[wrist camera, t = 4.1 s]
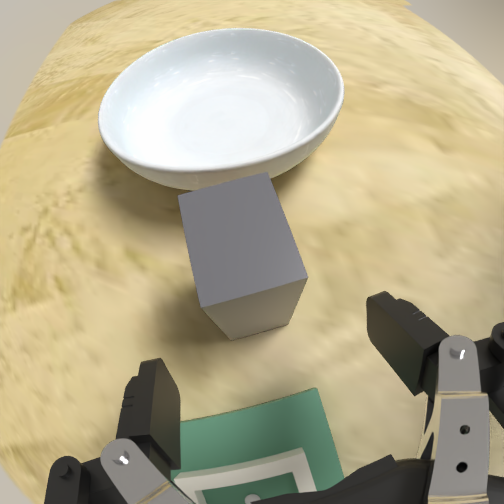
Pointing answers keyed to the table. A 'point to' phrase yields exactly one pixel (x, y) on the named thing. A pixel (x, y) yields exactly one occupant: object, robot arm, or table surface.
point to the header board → (258, 452)
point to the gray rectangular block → (242, 255)
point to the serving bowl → (221, 107)
